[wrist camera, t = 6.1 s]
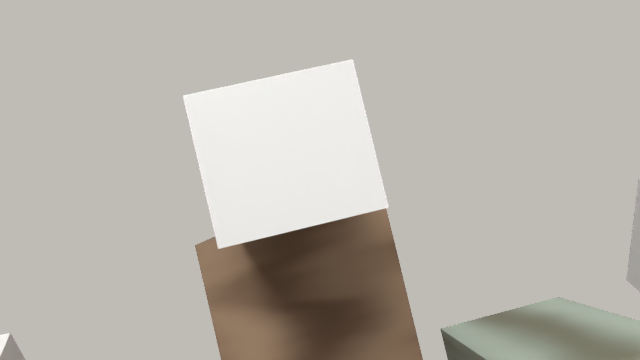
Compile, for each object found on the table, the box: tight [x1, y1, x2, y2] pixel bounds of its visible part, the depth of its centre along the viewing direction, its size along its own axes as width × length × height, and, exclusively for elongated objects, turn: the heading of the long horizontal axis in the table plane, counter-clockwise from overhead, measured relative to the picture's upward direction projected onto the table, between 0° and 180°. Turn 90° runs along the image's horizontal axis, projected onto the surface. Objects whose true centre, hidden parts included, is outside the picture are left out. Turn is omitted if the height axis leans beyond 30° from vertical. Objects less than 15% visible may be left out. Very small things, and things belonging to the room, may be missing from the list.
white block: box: [183, 59, 389, 249], centre depth 27 cm, size 4×25×4 cm, turn 5°
